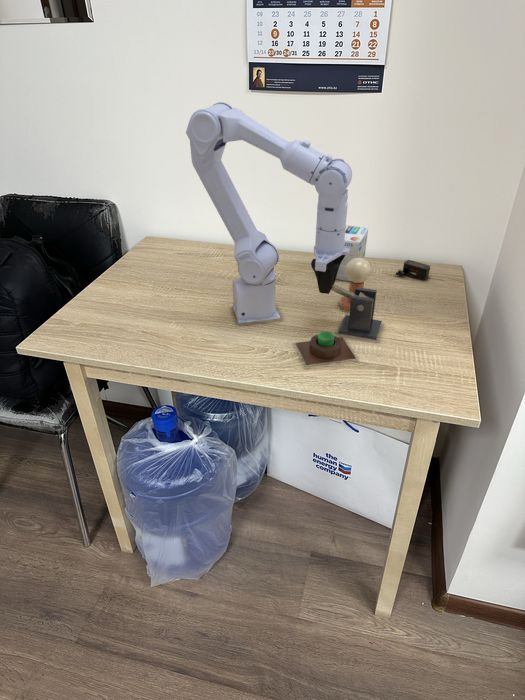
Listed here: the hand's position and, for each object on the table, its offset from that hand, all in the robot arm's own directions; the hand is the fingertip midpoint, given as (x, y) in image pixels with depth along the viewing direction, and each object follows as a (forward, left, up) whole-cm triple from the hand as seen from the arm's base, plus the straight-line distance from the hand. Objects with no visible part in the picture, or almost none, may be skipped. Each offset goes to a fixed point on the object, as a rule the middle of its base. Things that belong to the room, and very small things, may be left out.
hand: (326, 289), depth 109 cm
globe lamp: (+9, +6, -9) cm, 14 cm away
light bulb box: (+14, +24, -9) cm, 29 cm away
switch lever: (+3, -2, -2) cm, 4 cm away
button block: (-3, -11, -9) cm, 14 cm away
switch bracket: (+7, -4, -9) cm, 12 cm away
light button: (-3, -11, -6) cm, 13 cm away
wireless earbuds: (+29, +18, -9) cm, 35 cm away
